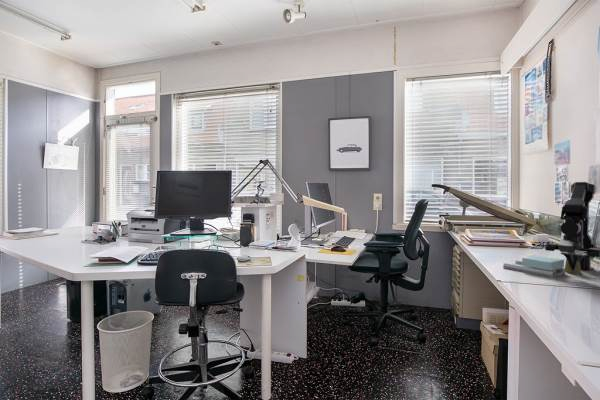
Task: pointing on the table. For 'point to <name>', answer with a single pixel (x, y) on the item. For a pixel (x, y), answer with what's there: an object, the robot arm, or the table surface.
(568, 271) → the cork
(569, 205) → the robot arm
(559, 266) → the cover
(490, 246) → the table surface
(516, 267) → the board
